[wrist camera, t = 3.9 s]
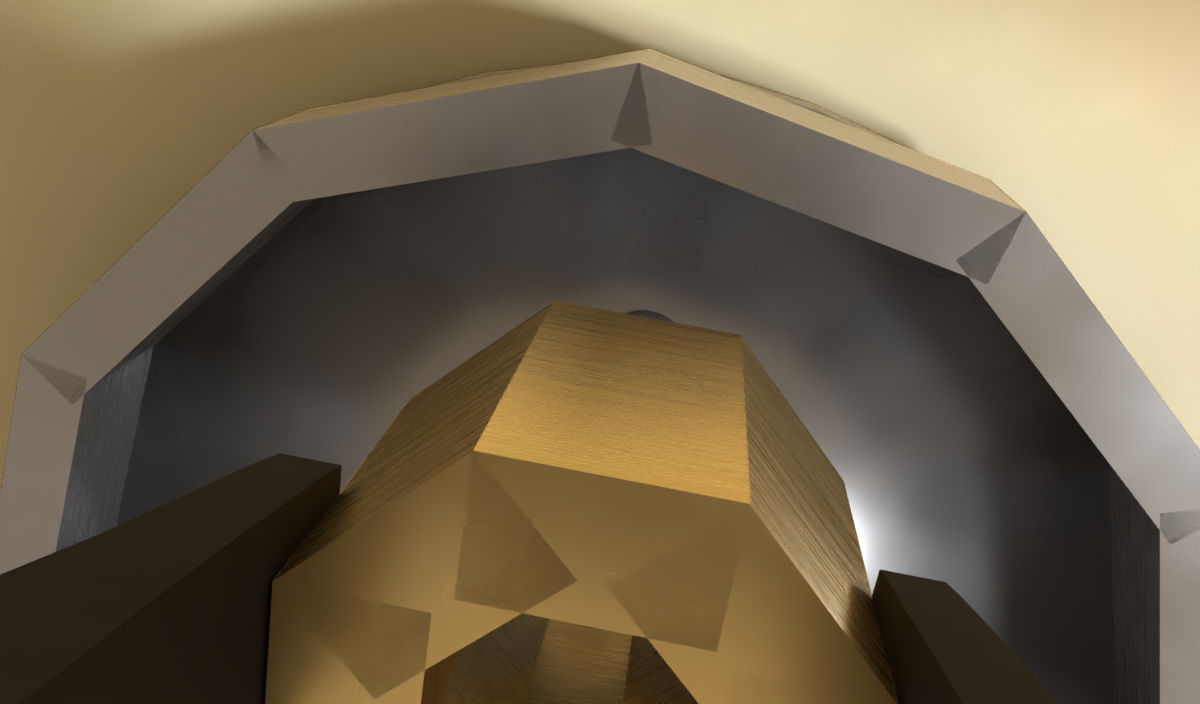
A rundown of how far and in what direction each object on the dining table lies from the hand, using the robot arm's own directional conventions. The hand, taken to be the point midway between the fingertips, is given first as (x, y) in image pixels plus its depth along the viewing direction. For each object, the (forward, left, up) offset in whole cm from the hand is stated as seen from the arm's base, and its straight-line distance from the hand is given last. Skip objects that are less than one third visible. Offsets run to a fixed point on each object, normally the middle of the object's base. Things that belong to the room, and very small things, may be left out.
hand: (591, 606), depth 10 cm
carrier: (-4, -4, -8) cm, 9 cm away
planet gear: (0, 0, -2) cm, 2 cm away
